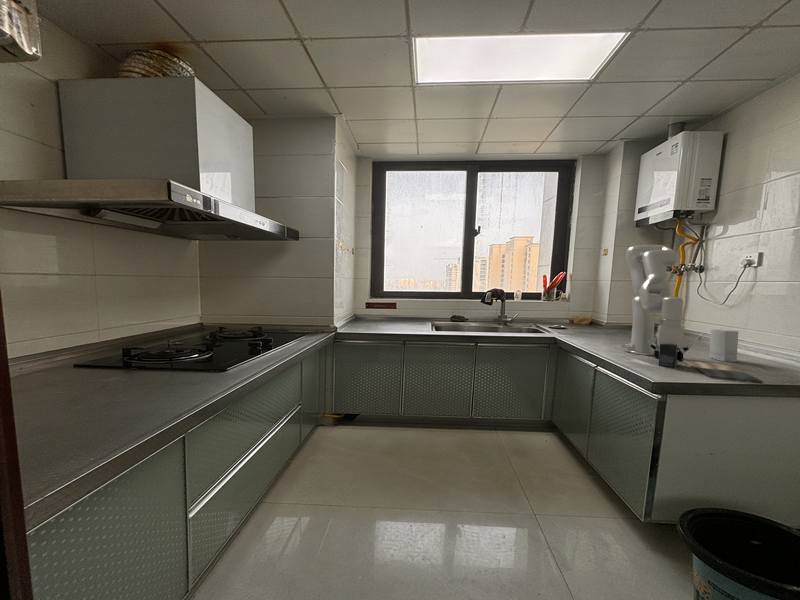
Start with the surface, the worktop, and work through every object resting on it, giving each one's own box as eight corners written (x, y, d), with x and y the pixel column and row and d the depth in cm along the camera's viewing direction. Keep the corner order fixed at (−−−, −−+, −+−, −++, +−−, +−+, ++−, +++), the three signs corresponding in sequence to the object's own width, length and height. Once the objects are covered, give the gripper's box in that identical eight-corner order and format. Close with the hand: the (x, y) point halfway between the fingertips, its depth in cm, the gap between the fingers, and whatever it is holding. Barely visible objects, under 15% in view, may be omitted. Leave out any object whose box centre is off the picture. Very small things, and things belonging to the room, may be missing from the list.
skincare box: (737, 362, 158) (740, 331, 156) (723, 362, 158) (726, 331, 156) (720, 357, 166) (723, 328, 165) (707, 357, 166) (710, 328, 165)
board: (710, 377, 132) (710, 375, 132) (682, 362, 156) (683, 360, 156) (762, 383, 126) (762, 380, 126) (725, 366, 150) (725, 364, 150)
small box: (659, 361, 157) (661, 340, 156) (677, 364, 153) (679, 342, 152) (657, 365, 150) (659, 343, 149) (675, 368, 145) (677, 346, 144)
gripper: (650, 322, 149) (648, 359, 151) (698, 325, 143) (695, 363, 144) (645, 320, 156) (643, 355, 158) (690, 323, 150) (687, 359, 151)
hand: (667, 359), depth 151 cm, fingers closed on small box, 8 cm apart
